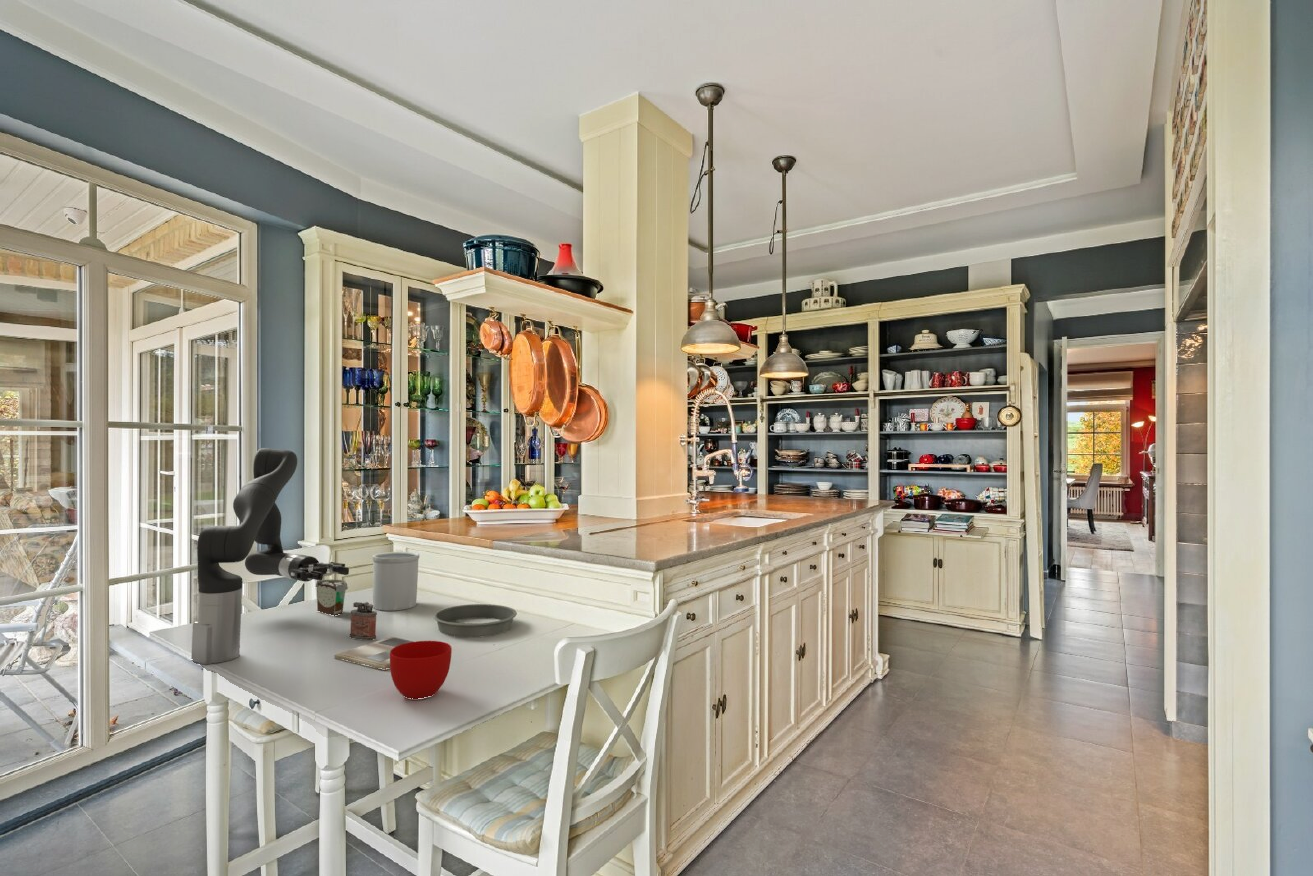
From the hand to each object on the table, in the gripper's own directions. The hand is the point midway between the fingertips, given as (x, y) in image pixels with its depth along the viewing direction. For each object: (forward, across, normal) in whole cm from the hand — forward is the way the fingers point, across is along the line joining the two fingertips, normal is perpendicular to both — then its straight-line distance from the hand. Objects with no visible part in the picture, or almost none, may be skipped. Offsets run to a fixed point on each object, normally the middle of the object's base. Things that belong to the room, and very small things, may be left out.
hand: (335, 574), depth 187 cm
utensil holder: (-8, +30, +17) cm, 35 cm away
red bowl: (+56, -21, +16) cm, 62 cm away
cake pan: (+32, +25, +17) cm, 44 cm away
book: (+30, -7, +16) cm, 35 cm away
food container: (-17, +14, +17) cm, 28 cm away
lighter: (+13, 0, +17) cm, 21 cm away
